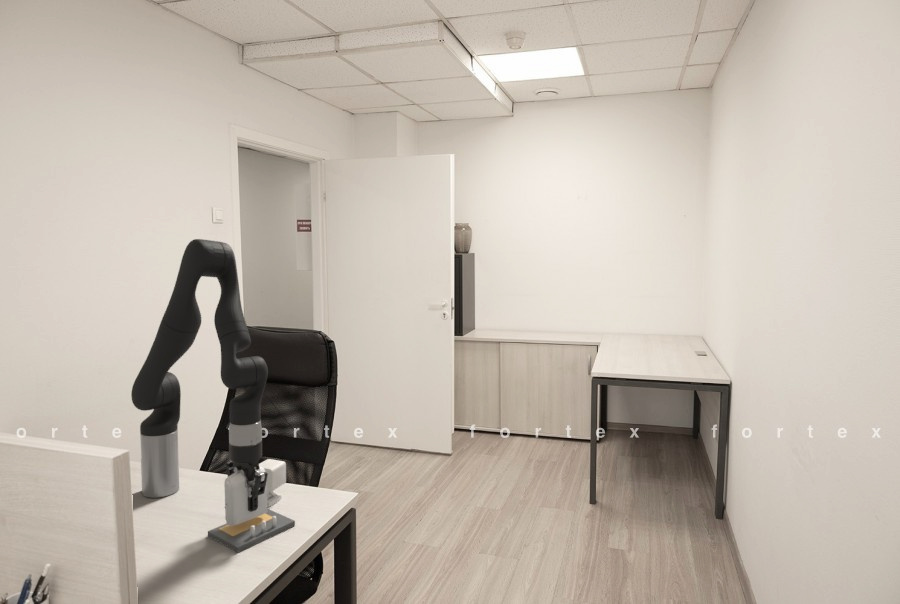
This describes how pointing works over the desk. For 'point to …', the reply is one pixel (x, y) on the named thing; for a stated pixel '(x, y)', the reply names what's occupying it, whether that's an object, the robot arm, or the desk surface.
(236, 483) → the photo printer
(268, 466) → the security camera
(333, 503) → the desk surface
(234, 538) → the charging dock
